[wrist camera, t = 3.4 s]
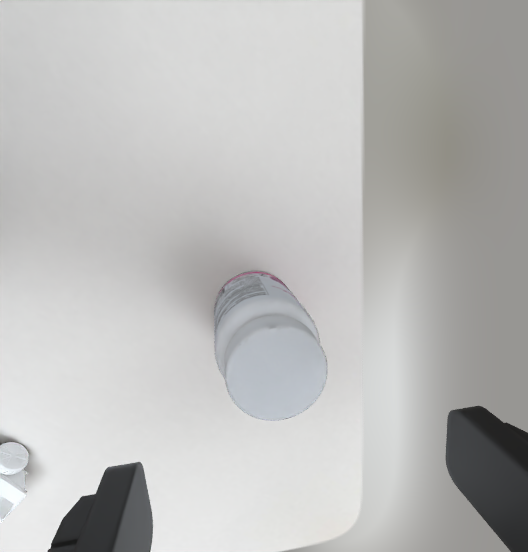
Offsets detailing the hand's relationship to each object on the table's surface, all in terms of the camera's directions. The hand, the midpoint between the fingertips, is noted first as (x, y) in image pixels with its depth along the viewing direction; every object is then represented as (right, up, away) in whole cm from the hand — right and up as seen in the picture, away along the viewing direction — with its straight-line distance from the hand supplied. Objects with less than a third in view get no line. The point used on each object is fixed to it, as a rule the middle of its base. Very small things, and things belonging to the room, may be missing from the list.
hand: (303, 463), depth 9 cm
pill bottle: (-2, +3, +13) cm, 13 cm away
